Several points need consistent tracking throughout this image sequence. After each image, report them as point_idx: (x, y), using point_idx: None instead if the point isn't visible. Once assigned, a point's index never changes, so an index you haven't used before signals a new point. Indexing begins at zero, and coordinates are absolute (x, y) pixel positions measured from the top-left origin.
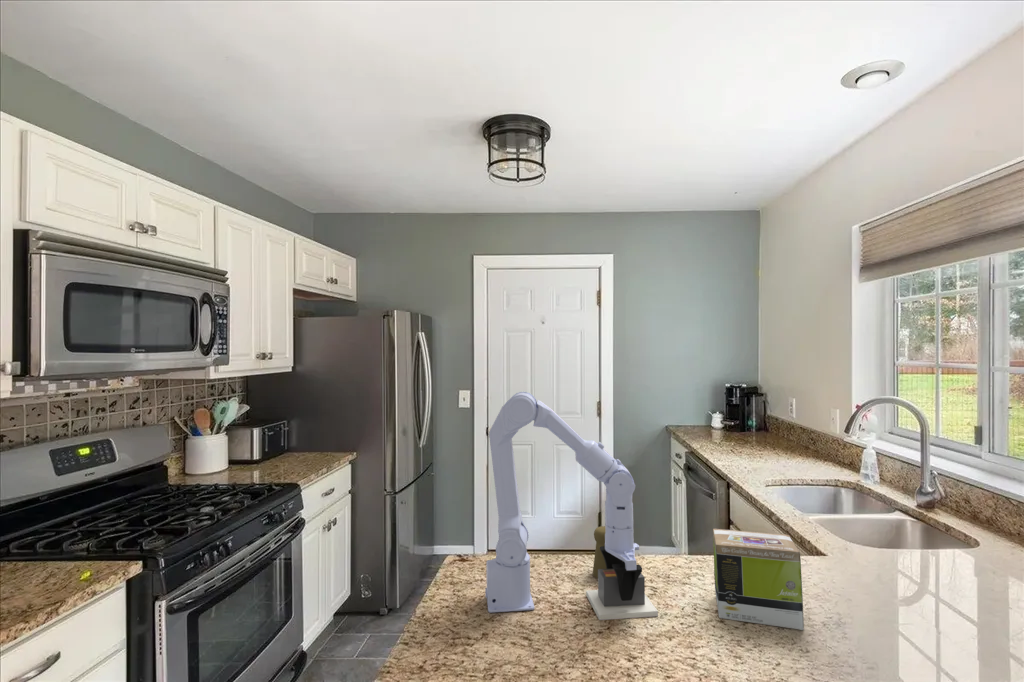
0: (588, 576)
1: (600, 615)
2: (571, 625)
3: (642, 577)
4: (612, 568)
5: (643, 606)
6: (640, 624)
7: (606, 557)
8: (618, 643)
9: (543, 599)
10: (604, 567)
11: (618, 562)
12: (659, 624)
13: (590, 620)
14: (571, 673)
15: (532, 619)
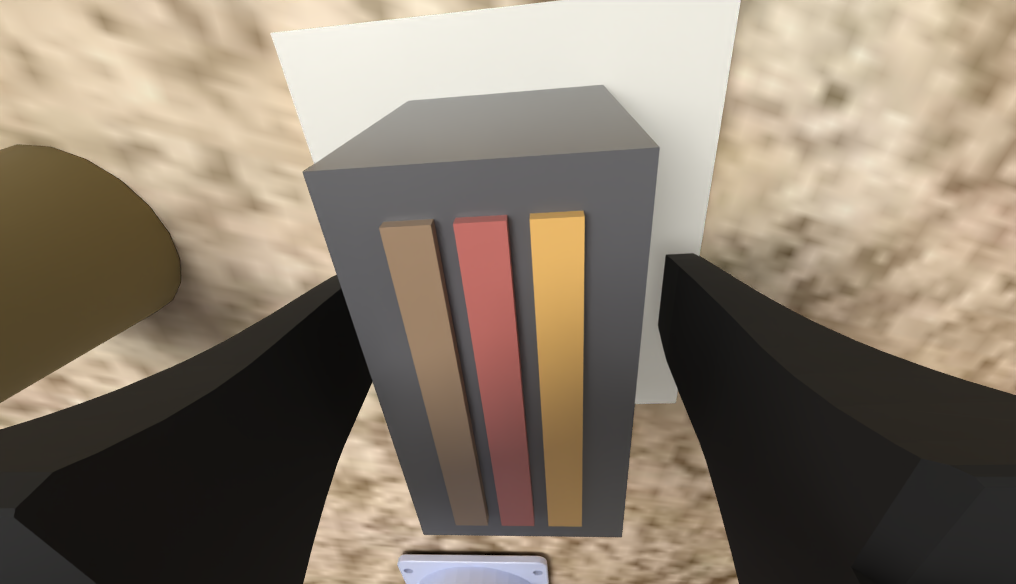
0: (159, 340)
1: (675, 394)
2: (680, 477)
3: (651, 180)
4: (329, 407)
5: (632, 106)
6: (788, 176)
7: (294, 564)
8: (916, 346)
9: None
10: (95, 311)
11: (273, 405)
12: (850, 15)
13: (659, 413)
14: None
15: (605, 560)
